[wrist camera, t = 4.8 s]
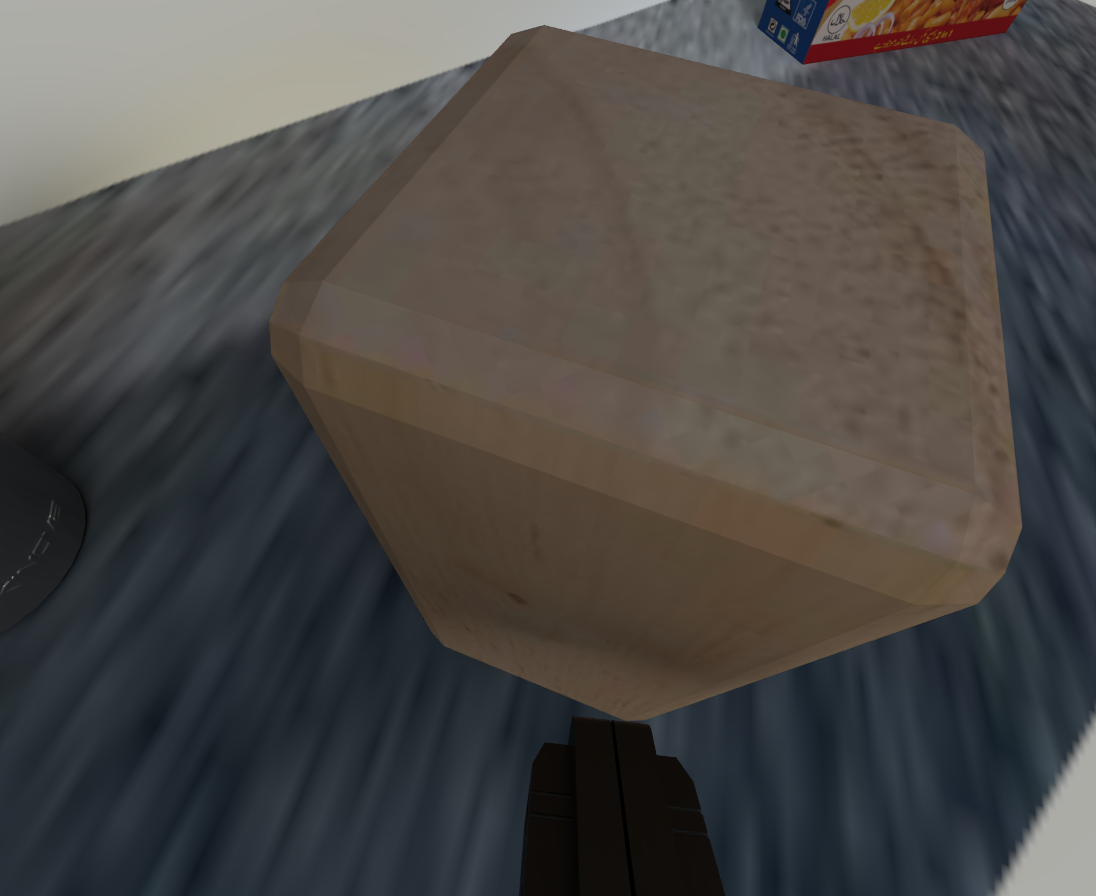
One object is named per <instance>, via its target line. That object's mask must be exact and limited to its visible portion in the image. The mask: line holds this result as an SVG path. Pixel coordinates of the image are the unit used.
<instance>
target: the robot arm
mask: <svg viewBox="0 0 1096 896" xmlns="http://www.w3.org/2000/svg"><path fill="white" fill-rule="evenodd" d="M85 525H86V522H85V506H84V504H83V501H82V498H81V495H80V493H79V491H78V490H77V489H76V487H75V486H74V485H73V484H72V482H71V481H70V480H69V479H67V478H66V477H64V476H63V475H61V474H60V473H58V472H57V471H55V470H54V469H52V468H51V467H49V466H48V465H46V464H45V463H43V462H42V461H40V460H39V459H37V458H36V457H34V456H33V455H31V454H30V453H28V452H27V451H25V450H24V449H22V448H21V447H19V446H18V445H16V444H15V443H13V442H12V441H10V440H9V439H7V438H6V437H4V436H3V435H1V434H0V634H1V633H2V632H4V631H6V630H7V629H9V628H10V627H12V626H14V625H15V624H17V623H18V622H19V621H20V620H22V619H23V618H24V617H25V616H27V615H28V614H29V613H30V612H32V611H33V610H34V609H35V608H37V607H38V606H39V605H40V604H41V603H42V602H43V601H44V600H45V599H46V597H47V596H48V595H49V594H50V593H51V592H52V591H53V590H54V589H55V588H56V587H57V586H58V584H59V583H60V581H61V580H62V579H63V577H64V576H65V574H66V573H67V571H68V570H69V568H70V567H71V565H72V564H73V561H74V559H75V557H76V555H77V553H78V550H79V548H80V546H81V544H82V539H83V534H84V530H85ZM519 896H725V893H724V890H723V886H722V882H721V879H720V875H719V872H718V868H717V865H716V861H715V857H714V854H713V850H712V847H711V843H710V839H709V838H708V837H707V829H706V825H705V822H704V818H703V815H701V807H700V804H699V800H698V796H697V793H696V789H695V786H694V782H693V781H692V779H691V778H690V776H689V775H688V773H687V772H686V771H685V769H684V768H683V766H682V765H681V764H680V762H679V761H678V759H677V758H676V757H668V756H659V755H657V754H656V750H655V745H654V740H653V736H652V731H651V728H650V726H649V725H648V724H640V723H632V722H623V721H615V720H612V721H611V722H610V720H604V719H596V718H587V717H578V716H573V717H572V722H571V728H570V734H569V741H568V745H562V744H554V743H544V745H543V746H542V748H541V750H540V752H539V753H538V755H537V757H536V758H535V760H534V762H533V764H532V771H531V779H530V787H529V794H528V802H527V809H526V817H525V825H524V837H523V850H522V864H521V877H520V891H519Z"/></svg>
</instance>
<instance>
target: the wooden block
mask: <svg viewBox="0 0 1096 896" xmlns="http://www.w3.org/2000/svg"><path fill="white" fill-rule="evenodd" d="M269 326H270V341H271V355H272V357H273V359H274V360H275V362H276V364H277V365H278V367H279V369H280V371H281V372H282V374H283V376H284V378H285V379H286V381H287V383H288V384H289V386H290V388H291V390H292V391H293V393H294V395H295V397H296V398H297V400H298V402H299V403H300V405H301V407H302V409H303V410H304V412H305V414H306V416H307V417H308V419H309V421H310V423H311V424H312V426H313V428H314V429H315V431H316V433H317V435H318V436H319V438H320V440H321V442H322V443H323V445H324V447H325V448H326V450H327V452H328V454H329V455H330V457H331V459H332V461H333V462H334V464H335V466H336V467H337V469H338V471H339V473H340V474H341V476H342V478H343V480H344V481H345V483H346V485H347V486H348V488H349V490H350V492H351V493H352V495H353V497H354V499H355V500H356V502H357V504H358V506H359V507H360V509H361V511H362V512H363V514H364V516H365V518H366V519H367V521H368V523H369V525H370V526H371V528H372V530H373V531H374V533H375V535H376V537H377V538H378V540H379V542H380V544H381V545H382V547H383V549H384V550H385V552H386V554H387V556H388V557H389V559H390V561H391V563H392V564H393V566H394V568H395V569H396V571H397V573H398V575H399V576H400V578H401V580H402V582H403V583H404V585H405V587H406V589H407V590H408V592H409V594H410V595H411V597H412V599H413V601H414V602H415V604H416V606H417V608H418V609H419V611H420V613H421V614H422V616H423V618H424V620H425V621H426V623H427V625H428V627H429V628H430V630H431V632H432V633H433V634H434V635H435V637H436V638H437V639H438V640H439V641H440V642H441V643H442V644H443V645H444V646H445V647H448V648H450V649H453V650H455V651H458V652H460V653H462V654H465V655H467V656H470V657H472V658H475V659H477V660H479V661H482V662H484V663H487V664H489V665H491V666H494V667H496V668H499V669H501V670H504V671H506V672H508V673H511V674H513V675H516V676H518V677H521V678H523V679H525V680H528V681H530V682H533V683H535V684H538V685H540V686H542V687H545V688H547V689H550V690H552V691H555V692H557V693H559V694H562V695H564V696H567V697H569V698H572V699H574V700H576V701H579V702H581V703H584V704H586V705H589V706H591V707H593V708H596V709H598V710H601V711H603V712H606V713H608V714H610V715H613V716H615V717H618V718H620V719H623V720H625V721H636V720H647V719H649V718H652V717H655V716H658V715H661V714H664V713H666V712H669V711H672V710H675V709H678V708H681V707H684V706H686V705H689V704H692V703H695V702H698V701H701V700H704V699H706V698H709V697H712V696H715V695H718V694H721V693H724V692H726V691H729V690H732V689H735V688H738V687H741V686H744V685H746V684H749V683H752V682H755V681H758V680H761V679H764V678H766V677H769V676H772V675H775V674H778V673H781V672H784V671H786V670H789V669H792V668H795V667H798V666H801V665H804V664H806V663H809V662H812V661H815V660H818V659H821V658H823V657H826V656H829V655H832V654H835V653H838V652H841V651H843V650H846V649H849V648H852V647H855V646H858V645H861V644H863V643H866V642H869V641H872V640H875V639H878V638H881V637H883V636H886V635H889V634H892V633H895V632H898V631H901V630H903V629H906V628H909V627H912V626H915V625H918V624H921V623H923V622H926V621H929V620H932V619H935V618H938V617H941V616H943V615H946V614H949V613H952V612H955V611H958V610H961V609H963V608H966V607H969V606H972V605H975V604H978V603H979V602H980V600H981V599H982V598H983V597H984V596H985V595H986V594H987V593H988V592H989V591H990V589H991V588H992V587H993V586H994V585H995V584H996V583H997V582H998V581H999V579H1000V578H1001V577H1002V576H1003V575H1004V574H1005V571H1006V569H1007V566H1008V563H1009V561H1010V558H1011V555H1012V553H1013V550H1014V547H1015V545H1016V542H1017V539H1018V537H1019V534H1020V532H1021V529H1022V521H1021V511H1020V501H1019V491H1018V482H1017V472H1016V462H1015V452H1014V443H1013V433H1012V423H1011V413H1010V404H1009V394H1008V384H1007V374H1006V365H1005V355H1004V345H1003V336H1002V326H1001V316H1000V306H999V297H998V287H997V277H996V267H995V258H994V248H993V238H992V228H991V219H990V209H989V199H988V189H987V180H986V170H985V160H984V151H983V150H982V149H981V148H980V147H979V146H977V145H976V144H975V143H974V142H973V141H972V140H971V139H970V138H969V137H968V136H967V135H965V134H964V133H963V132H962V131H961V130H960V129H959V128H958V127H957V126H956V125H952V124H948V123H944V122H940V121H936V120H932V119H928V118H924V117H919V116H915V115H911V114H907V113H903V112H899V111H895V110H891V109H887V108H882V107H878V106H874V105H870V104H866V103H862V102H858V101H854V100H850V99H845V98H841V97H837V96H833V95H829V94H825V93H821V92H817V91H813V90H809V89H804V88H800V87H796V86H792V85H788V84H784V83H780V82H776V81H772V80H767V79H763V78H759V77H755V76H751V75H747V74H743V73H739V72H735V71H730V70H726V69H722V68H718V67H714V66H710V65H706V64H702V63H698V62H693V61H689V60H685V59H681V58H677V57H673V56H669V55H665V54H661V53H656V52H652V51H648V50H644V49H640V48H636V47H632V46H628V45H624V44H620V43H615V42H611V41H607V40H603V39H599V38H595V37H591V36H587V35H583V34H578V33H574V32H570V31H566V30H562V29H558V28H554V27H550V26H545V25H543V26H539V27H536V28H532V29H528V30H524V31H521V32H517V33H513V34H511V35H510V36H509V37H508V38H507V39H506V40H505V42H504V43H503V44H502V45H501V46H500V47H499V48H498V49H497V50H496V51H495V52H494V53H493V55H492V56H491V57H490V58H489V59H488V60H487V61H486V62H485V63H484V64H483V65H482V66H481V68H480V69H479V70H478V71H477V72H476V73H475V74H474V75H473V76H472V77H471V78H470V80H469V81H468V82H467V83H466V84H465V85H464V86H463V87H462V88H461V89H460V90H459V92H458V93H457V94H456V95H455V96H454V97H453V98H452V99H451V100H450V101H449V102H448V104H447V105H446V106H445V107H444V108H443V109H442V110H441V111H440V112H439V113H438V114H437V115H436V117H435V118H434V119H433V120H432V121H431V122H430V123H429V124H428V125H427V126H426V127H425V129H424V130H423V131H422V132H421V133H420V134H419V135H418V136H417V137H416V138H415V139H414V141H413V142H412V143H411V144H410V145H409V146H408V147H407V148H406V149H405V150H404V151H403V153H402V154H401V155H400V156H399V157H398V158H397V159H396V160H395V161H394V162H393V163H392V164H391V166H390V167H389V168H388V169H387V170H386V171H385V172H384V173H383V174H382V175H381V176H380V178H379V179H378V180H377V181H376V182H375V183H374V184H373V185H372V186H371V187H370V188H369V190H368V191H367V192H366V193H365V194H364V195H363V196H362V197H361V198H360V199H359V200H358V202H357V203H356V204H355V205H354V206H353V207H352V208H351V209H350V210H349V211H348V212H347V213H346V215H345V216H344V217H343V218H342V219H341V220H340V221H339V222H338V223H337V224H336V225H335V227H334V228H333V229H332V230H331V231H330V232H329V233H328V234H327V235H326V236H325V237H324V239H323V240H322V241H321V242H320V243H319V244H318V245H317V246H316V247H315V248H314V249H313V251H312V252H311V253H310V254H309V255H308V256H307V257H306V258H305V259H304V260H303V261H302V262H301V264H300V265H299V266H298V267H297V268H296V269H295V270H294V271H293V272H292V273H291V274H290V276H289V277H288V278H287V279H286V280H285V281H284V282H283V284H282V287H281V290H280V293H279V295H278V298H277V301H276V304H275V307H274V310H273V312H272V315H271V318H270V321H269Z"/></svg>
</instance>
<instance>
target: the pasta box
mask: <svg viewBox="0 0 1096 896" xmlns="http://www.w3.org/2000/svg"><path fill="white" fill-rule="evenodd" d="M1026 1H1027V0H767V2H766V5H765V8H764V11H763V14H762V17H761V19H760V22H759V25H758V29H760V30H761V31H762V32H763V33H765V34H766V35H767V36H768V37H769V38H771V39H772V40H773V41H774V42H776V43H777V44H778V45H779V46H780V47H782V48H783V49H784V50H785V51H787V52H788V53H789V54H790V55H791V56H793V57H794V58H795V59H796V60H798V61H799V62H800V63H801V64H803V65H804V64H810V63H816V62H823V61H829V60H835V59H842V58H848V57H854V56H861V55H867V54H873V53H880V52H886V51H892V50H899V49H905V48H911V47H918V46H924V45H930V44H937V43H943V42H949V41H956V40H962V39H968V38H975V37H981V36H987V35H994V34H1000V33H1005V32H1006V31H1007V29H1008V28H1009V26H1010V25H1011V23H1012V22H1013V20H1014V19H1015V18H1016V16H1017V15H1018V13H1019V12H1020V10H1021V9H1022V7H1023V6H1024V4H1025V3H1026Z"/></svg>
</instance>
